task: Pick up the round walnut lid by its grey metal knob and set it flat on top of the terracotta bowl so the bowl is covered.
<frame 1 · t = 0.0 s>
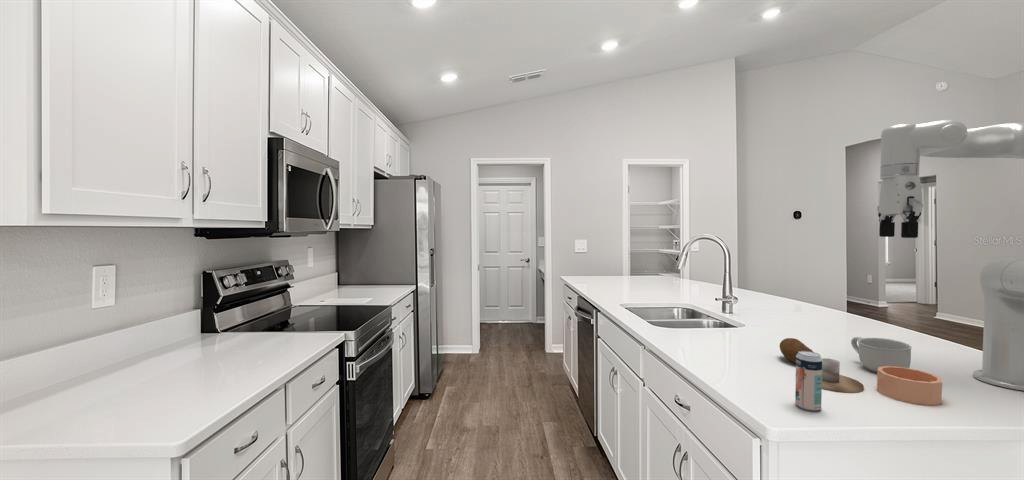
hand: (897, 237, 109), 37 cm above the worktop, tool pointing down, fingers open, 9 cm apart
teacup: (878, 370, 113), on the worktop
beer can: (808, 408, 90), on the worktop
potato: (794, 363, 119), on the worktop
bowl: (908, 395, 96), on the worktop
lid: (830, 384, 104), on the worktop
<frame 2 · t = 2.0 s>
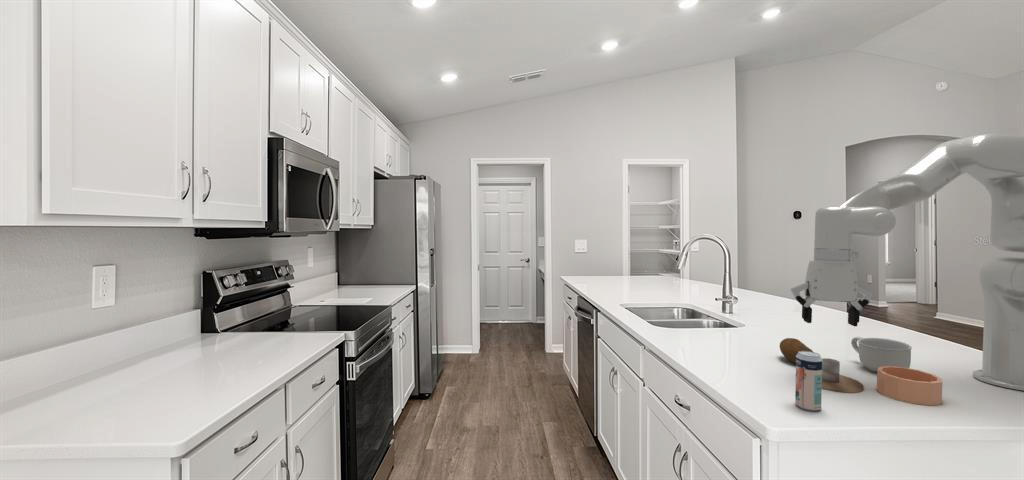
hand: (829, 323, 103), 15 cm above the worktop, tool pointing down, fingers open, 9 cm apart
nothing on the worktop moved.
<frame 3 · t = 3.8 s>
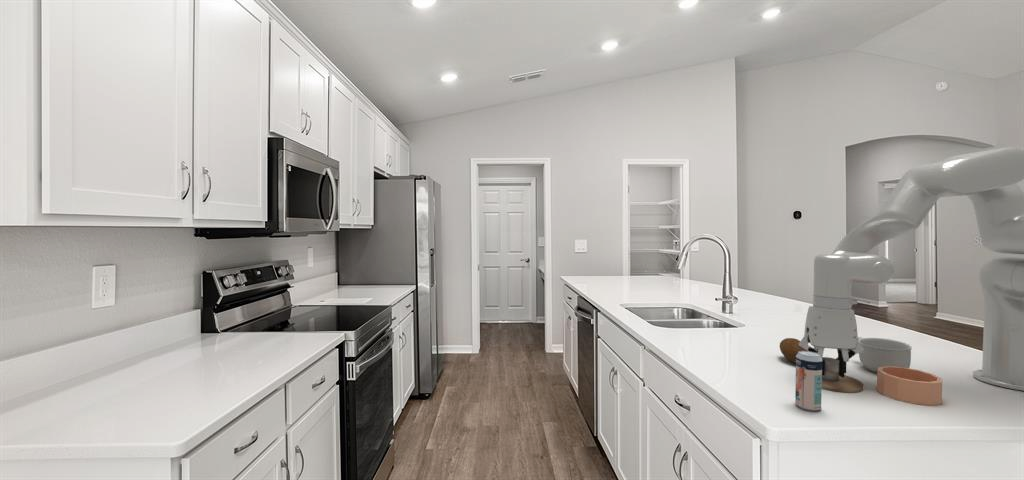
hand: (829, 373, 104), 2 cm above the worktop, tool pointing down, fingers closed on lid, 3 cm apart
lid: (829, 382, 104), on the worktop, touching gripper
everything else where it was.
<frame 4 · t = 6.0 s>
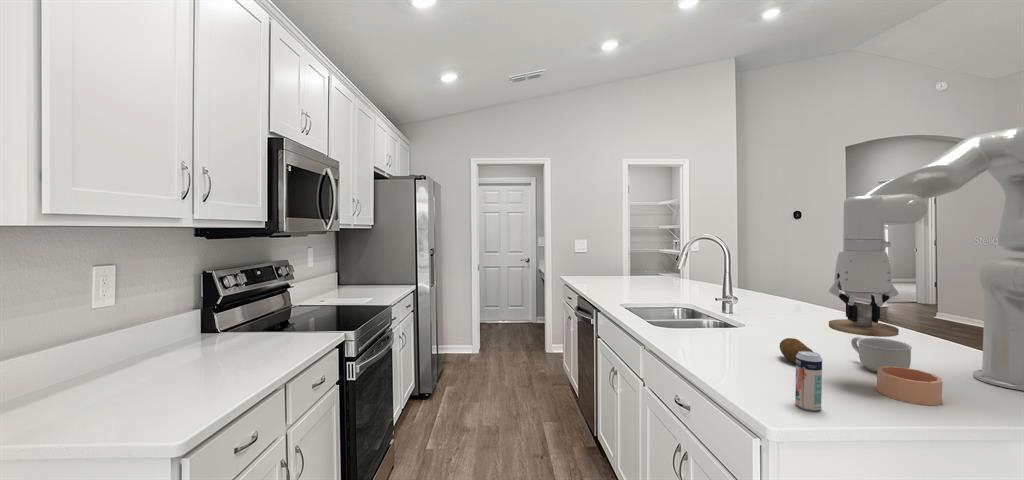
hand: (862, 320, 100), 17 cm above the worktop, tool pointing down, fingers closed on lid, 3 cm apart
lid: (862, 329, 100), point 14 cm above the worktop, touching gripper
everything else where it was.
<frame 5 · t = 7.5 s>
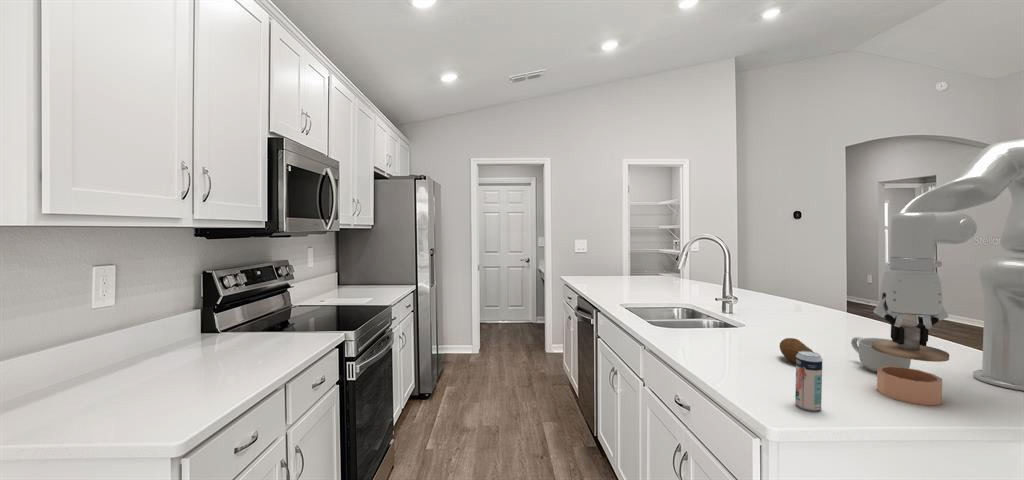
hand: (908, 342, 96), 12 cm above the worktop, tool pointing down, fingers closed on lid, 3 cm apart
lid: (908, 352, 96), point 10 cm above the worktop, touching gripper
everything else where it was.
when the fingers open (9 cm above the worktop, at t = 8.4 s): lid drops 1 cm, resting on bowl.
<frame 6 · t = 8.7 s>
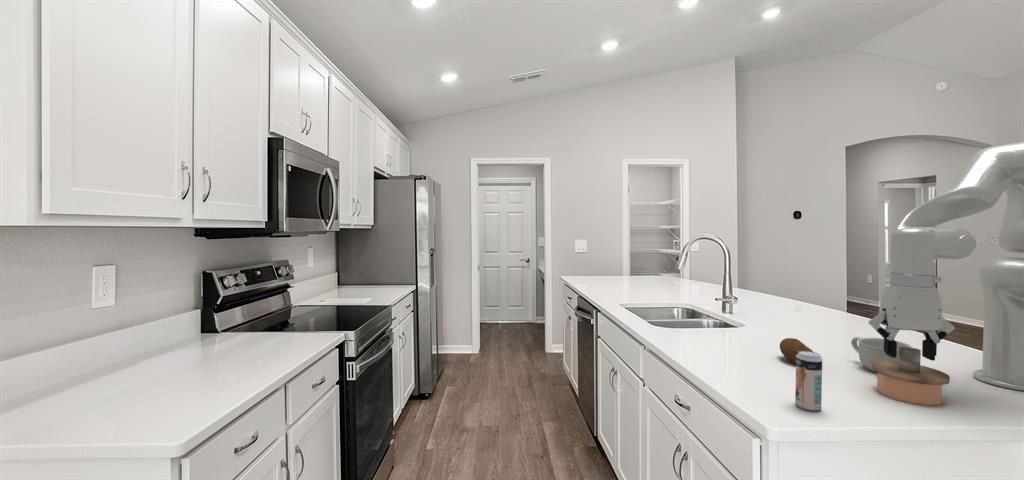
hand: (909, 356, 96), 9 cm above the worktop, tool pointing down, fingers open, 6 cm apart
lid: (909, 374, 96), point 5 cm above the worktop, touching bowl
everything else where it was.
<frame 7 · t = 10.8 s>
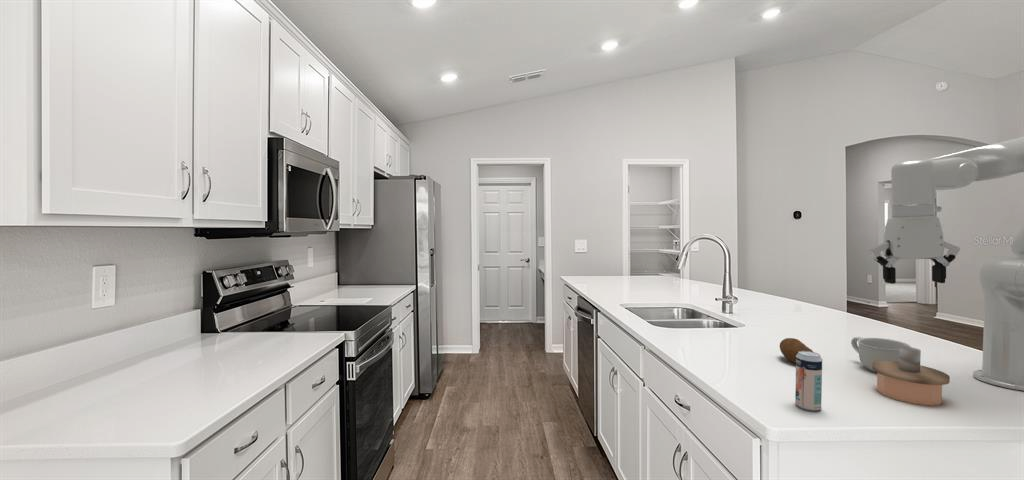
hand: (913, 282, 100), 26 cm above the worktop, tool pointing down, fingers open, 9 cm apart
nothing on the worktop moved.
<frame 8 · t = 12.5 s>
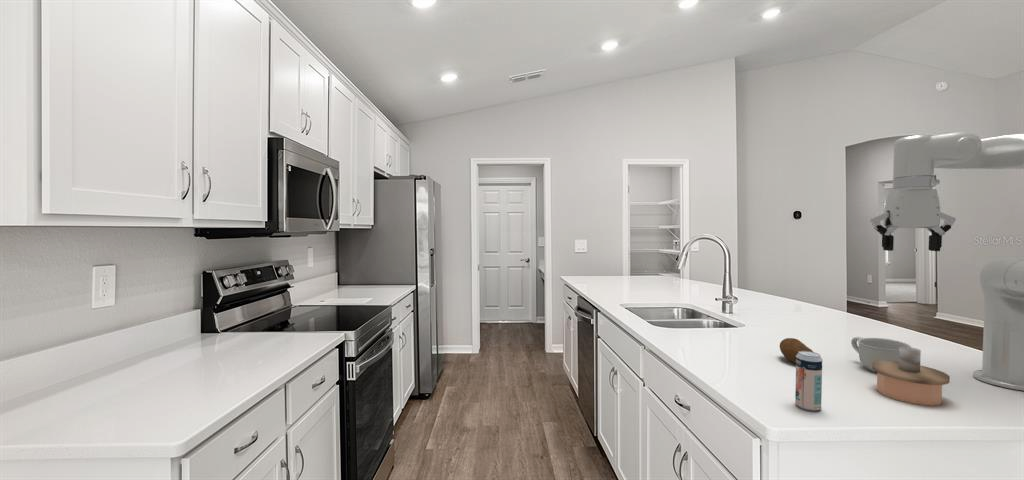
hand: (910, 250, 106), 33 cm above the worktop, tool pointing down, fingers open, 9 cm apart
nothing on the worktop moved.
at the end: lid 0.0 cm off-centre on the bowl, point 5.0 cm above the bowl's base; lid tilted 0°; the gripper is holding nothing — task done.
